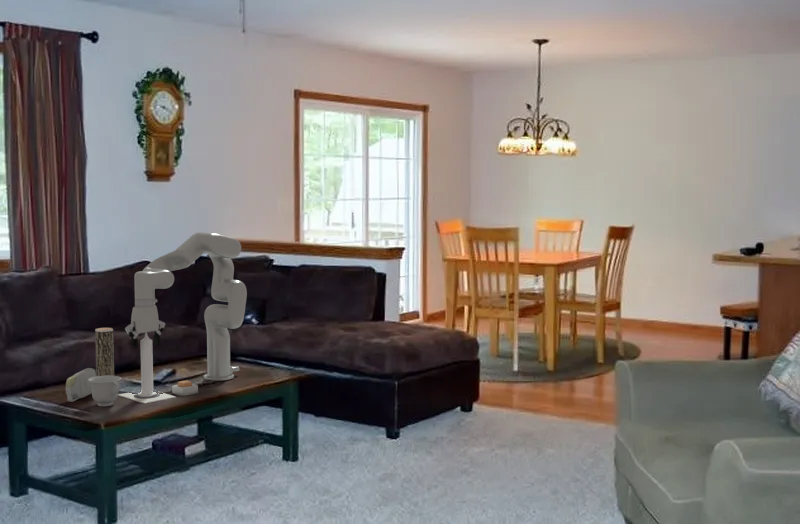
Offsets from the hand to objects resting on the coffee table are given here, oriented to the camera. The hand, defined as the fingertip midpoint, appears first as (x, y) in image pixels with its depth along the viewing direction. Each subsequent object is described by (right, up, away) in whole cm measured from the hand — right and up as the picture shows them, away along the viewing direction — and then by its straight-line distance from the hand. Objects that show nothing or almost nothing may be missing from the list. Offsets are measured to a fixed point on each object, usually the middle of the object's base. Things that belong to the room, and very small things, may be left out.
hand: (145, 346), depth 382 cm
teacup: (-11, -21, -12) cm, 27 cm away
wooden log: (-19, -19, +12) cm, 29 cm away
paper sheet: (0, -20, +2) cm, 20 cm away
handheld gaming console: (-25, -20, 0) cm, 32 cm away
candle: (0, -19, +2) cm, 20 cm away
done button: (+14, -17, +8) cm, 23 cm away
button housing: (+14, -19, +8) cm, 25 cm away
